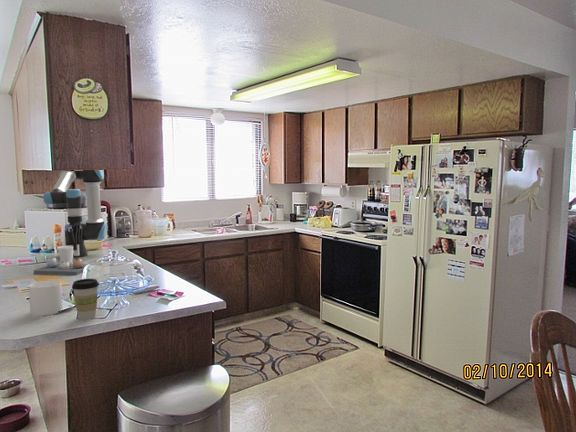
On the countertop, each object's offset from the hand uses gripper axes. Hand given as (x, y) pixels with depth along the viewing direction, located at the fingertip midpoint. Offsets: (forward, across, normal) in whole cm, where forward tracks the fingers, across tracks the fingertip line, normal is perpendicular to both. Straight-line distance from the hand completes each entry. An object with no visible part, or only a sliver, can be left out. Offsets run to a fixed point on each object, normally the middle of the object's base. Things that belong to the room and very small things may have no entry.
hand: (76, 255), depth 244 cm
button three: (+7, 0, 0) cm, 7 cm away
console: (+10, 0, -8) cm, 12 cm away
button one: (+7, 0, -16) cm, 17 cm away
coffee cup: (+10, +73, +50) cm, 89 cm away
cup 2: (+10, -17, -18) cm, 27 cm away
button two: (+9, 0, -8) cm, 12 cm away
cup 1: (+10, +68, +29) cm, 74 cm away
